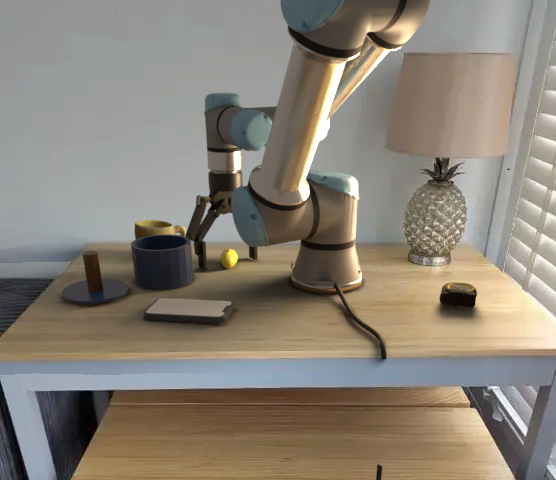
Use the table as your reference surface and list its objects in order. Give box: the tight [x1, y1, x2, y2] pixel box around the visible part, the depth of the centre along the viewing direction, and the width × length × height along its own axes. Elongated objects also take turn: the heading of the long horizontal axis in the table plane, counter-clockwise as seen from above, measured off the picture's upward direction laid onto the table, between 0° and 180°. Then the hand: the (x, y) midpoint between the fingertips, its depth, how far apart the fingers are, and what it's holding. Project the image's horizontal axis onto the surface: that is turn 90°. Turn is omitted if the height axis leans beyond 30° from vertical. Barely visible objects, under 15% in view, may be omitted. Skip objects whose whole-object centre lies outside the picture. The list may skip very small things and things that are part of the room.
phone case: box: [143, 297, 235, 325], centre depth 118 cm, size 9×2×16 cm
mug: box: [134, 219, 187, 240], centre depth 149 cm, size 12×10×10 cm
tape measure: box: [439, 281, 478, 309], centre depth 121 cm, size 7×7×4 cm
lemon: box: [220, 247, 239, 269], centre depth 143 cm, size 4×8×4 cm, turn 179°
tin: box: [130, 234, 194, 291], centre depth 133 cm, size 13×13×8 cm
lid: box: [61, 250, 130, 305], centre depth 126 cm, size 14×14×9 cm
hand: (228, 263), depth 144 cm, fingers open, 13 cm apart
